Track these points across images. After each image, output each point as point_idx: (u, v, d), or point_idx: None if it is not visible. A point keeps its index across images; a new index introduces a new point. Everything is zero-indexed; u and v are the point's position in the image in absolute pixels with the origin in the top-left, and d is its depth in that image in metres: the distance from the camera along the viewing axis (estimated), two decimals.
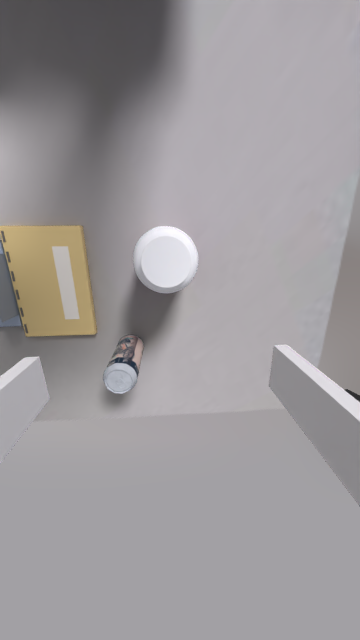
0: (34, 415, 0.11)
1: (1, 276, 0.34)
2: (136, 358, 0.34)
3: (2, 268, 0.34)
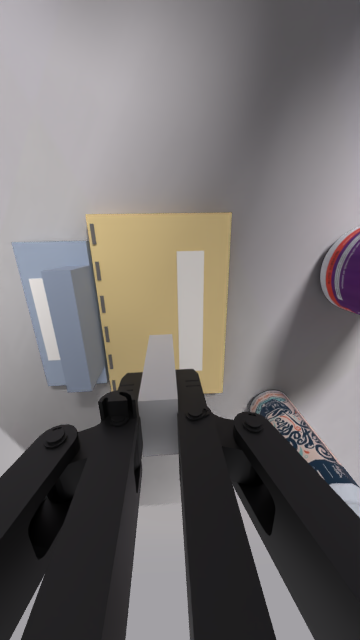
0: None
1: (89, 307, 0.18)
2: (330, 452, 0.19)
3: (89, 292, 0.19)
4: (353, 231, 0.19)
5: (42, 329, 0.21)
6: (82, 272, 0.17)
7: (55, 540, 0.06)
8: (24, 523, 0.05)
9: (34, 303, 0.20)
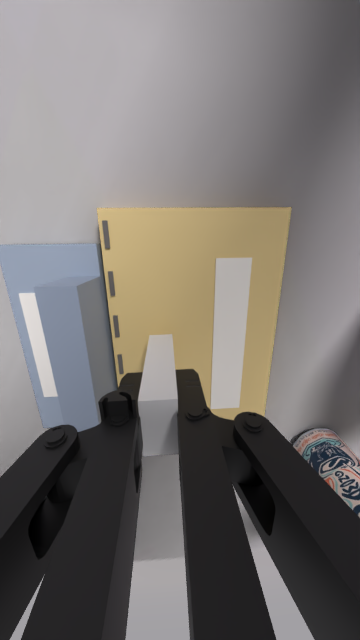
0: None
1: (99, 332, 0.14)
2: None
3: (100, 312, 0.14)
4: None
5: (36, 359, 0.16)
6: (92, 286, 0.13)
7: (55, 540, 0.06)
8: (24, 523, 0.05)
9: (26, 325, 0.15)
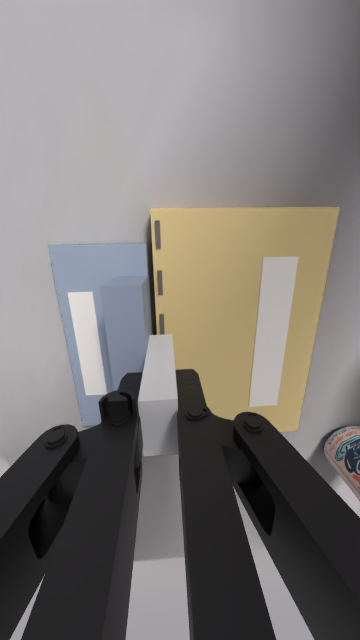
0: None
1: (149, 330, 0.14)
2: None
3: (148, 310, 0.14)
4: None
5: (80, 357, 0.16)
6: (145, 285, 0.13)
7: (55, 540, 0.06)
8: (25, 523, 0.05)
9: (73, 324, 0.15)
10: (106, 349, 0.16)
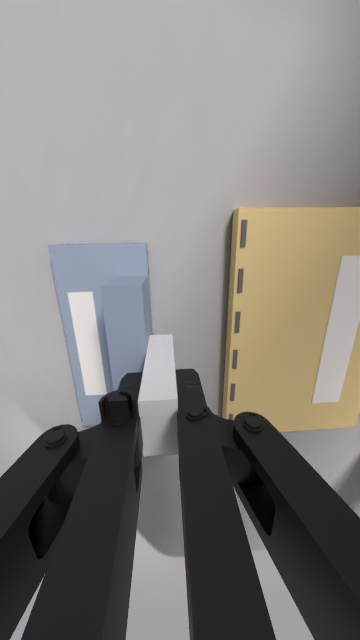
0: None
1: (149, 331, 0.14)
2: None
3: (148, 310, 0.14)
4: None
5: (80, 357, 0.16)
6: (145, 285, 0.13)
7: (55, 540, 0.06)
8: (24, 523, 0.05)
9: (73, 324, 0.15)
10: (106, 349, 0.16)
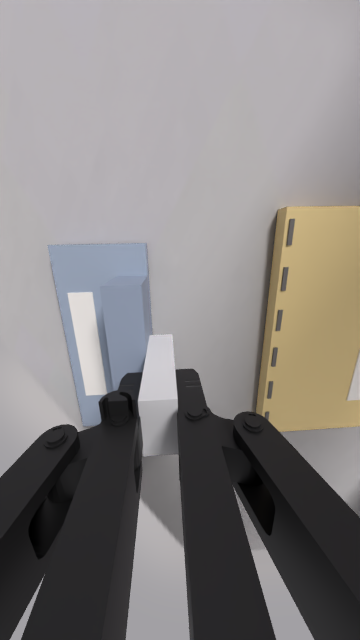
0: None
1: (149, 331, 0.14)
2: None
3: (148, 310, 0.14)
4: None
5: (80, 357, 0.16)
6: (145, 285, 0.13)
7: (55, 540, 0.06)
8: (25, 523, 0.05)
9: (73, 324, 0.15)
10: (106, 349, 0.16)
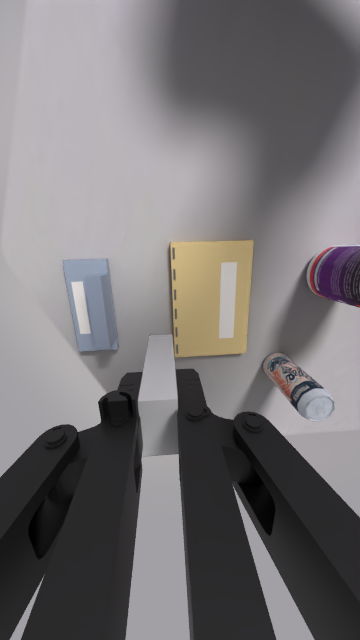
0: None
1: (108, 298, 0.31)
2: None
3: (108, 289, 0.31)
4: (324, 250, 0.32)
5: (77, 313, 0.33)
6: (104, 277, 0.30)
7: (55, 540, 0.06)
8: (25, 523, 0.05)
9: (73, 297, 0.32)
10: None
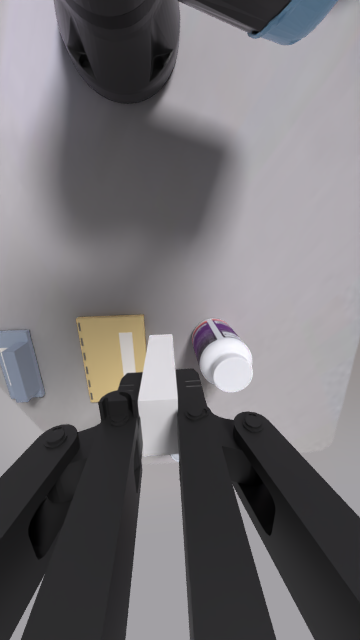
0: None
1: (27, 362, 0.39)
2: None
3: (27, 354, 0.40)
4: (201, 323, 0.41)
5: (6, 371, 0.41)
6: (22, 348, 0.38)
7: (55, 540, 0.06)
8: (25, 523, 0.05)
9: (2, 359, 0.41)
10: None
